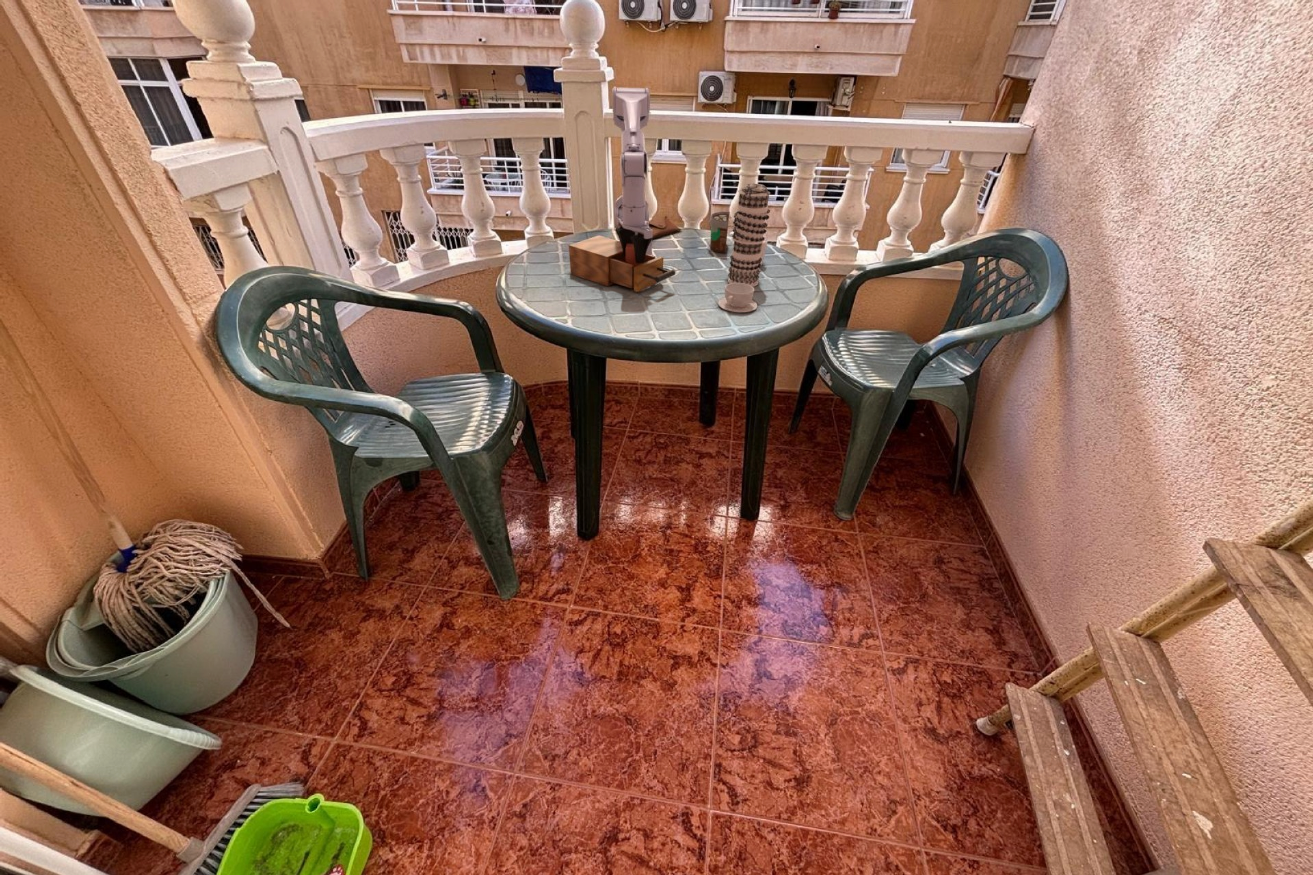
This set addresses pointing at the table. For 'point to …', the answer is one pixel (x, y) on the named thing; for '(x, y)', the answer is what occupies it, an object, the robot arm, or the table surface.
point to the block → (631, 255)
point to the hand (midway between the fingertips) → (633, 259)
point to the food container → (719, 231)
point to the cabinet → (593, 258)
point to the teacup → (738, 298)
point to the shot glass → (763, 250)
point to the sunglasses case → (662, 227)
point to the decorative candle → (749, 234)
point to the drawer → (637, 272)
